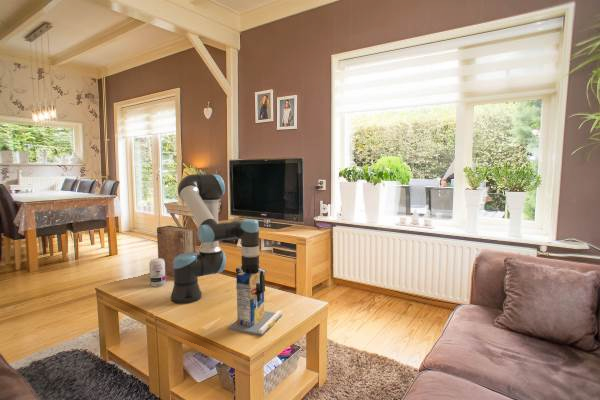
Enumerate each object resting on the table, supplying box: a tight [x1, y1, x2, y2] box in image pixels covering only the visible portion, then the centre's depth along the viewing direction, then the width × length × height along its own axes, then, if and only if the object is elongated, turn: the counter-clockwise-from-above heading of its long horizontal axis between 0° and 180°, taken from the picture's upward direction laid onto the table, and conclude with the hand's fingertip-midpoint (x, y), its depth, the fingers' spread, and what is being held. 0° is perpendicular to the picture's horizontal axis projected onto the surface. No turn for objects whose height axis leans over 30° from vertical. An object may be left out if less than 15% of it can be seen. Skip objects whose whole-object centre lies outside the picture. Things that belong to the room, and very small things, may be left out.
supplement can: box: [148, 257, 166, 288], centre depth 195 cm, size 8×8×15 cm
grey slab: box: [227, 309, 283, 337], centre depth 148 cm, size 16×20×2 cm
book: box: [156, 225, 197, 278], centre depth 214 cm, size 25×9×30 cm, turn 58°
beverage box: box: [236, 268, 265, 327], centre depth 147 cm, size 7×11×22 cm, turn 155°
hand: (250, 306), depth 147 cm, fingers open, 5 cm apart
